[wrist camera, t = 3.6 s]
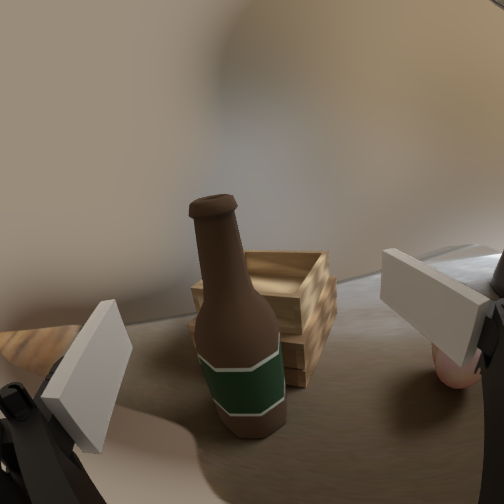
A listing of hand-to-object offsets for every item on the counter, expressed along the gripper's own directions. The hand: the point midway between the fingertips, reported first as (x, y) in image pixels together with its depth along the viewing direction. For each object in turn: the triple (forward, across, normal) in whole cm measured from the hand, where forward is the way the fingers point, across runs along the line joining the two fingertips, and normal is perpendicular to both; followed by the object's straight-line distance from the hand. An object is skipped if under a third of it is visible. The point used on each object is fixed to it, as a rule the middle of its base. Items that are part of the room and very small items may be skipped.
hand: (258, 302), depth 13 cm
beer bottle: (+10, -1, -20) cm, 23 cm away
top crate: (+25, +4, -13) cm, 28 cm away
